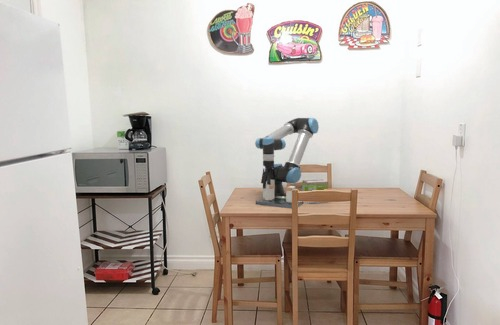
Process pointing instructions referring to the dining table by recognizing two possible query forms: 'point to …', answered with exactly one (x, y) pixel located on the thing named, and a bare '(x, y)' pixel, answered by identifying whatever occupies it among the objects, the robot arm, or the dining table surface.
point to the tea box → (314, 186)
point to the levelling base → (276, 202)
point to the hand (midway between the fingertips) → (268, 190)
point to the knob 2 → (289, 193)
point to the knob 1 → (269, 193)
